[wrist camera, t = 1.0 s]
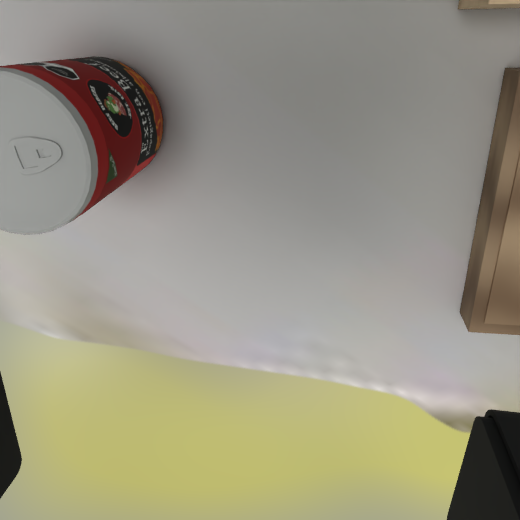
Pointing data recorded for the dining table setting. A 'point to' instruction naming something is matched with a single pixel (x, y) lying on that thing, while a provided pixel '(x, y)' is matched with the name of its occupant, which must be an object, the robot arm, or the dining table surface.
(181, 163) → the dining table surface
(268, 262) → the dining table surface
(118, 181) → the canned food
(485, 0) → the tan cube
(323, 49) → the dining table surface
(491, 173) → the oak board
